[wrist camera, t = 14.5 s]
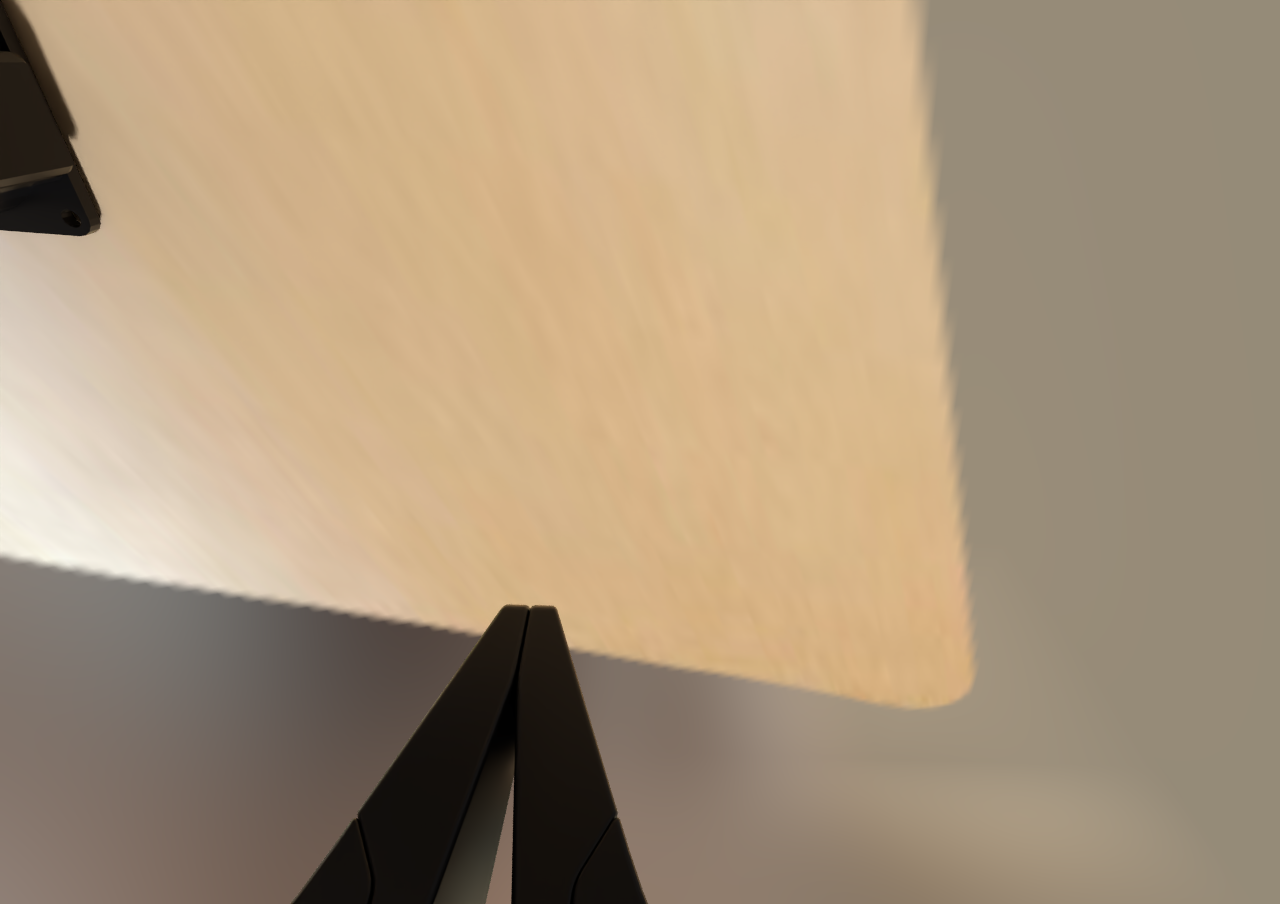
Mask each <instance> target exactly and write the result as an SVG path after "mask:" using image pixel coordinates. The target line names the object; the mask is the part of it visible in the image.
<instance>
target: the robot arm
mask: <svg viewBox="0 0 1280 904" xmlns="http://www.w3.org/2000/svg"><path fill="white" fill-rule="evenodd" d="M72 212H74V213H75V214H77V215H78V217H79V218H80V220H81V223H80V222H79V221H77V220H76V219H75V218H74V216H73V214H72ZM100 225H101V222H100V219H99V216H98V214H97V211H96V209H95V207H94V205H93V203H92V200H91V198H90V196H89V194H88V192H87V189H86V187H85V185H84V183H83V181H82V178H81V176H80V174H79V172H78V170H77V167H76V165H75V163H74V161H73V159H72V156H71V154H70V152H69V150H68V148H67V145H66V143H65V141H64V139H63V137H62V134H61V132H60V130H59V128H58V126H57V123H56V121H55V119H54V117H53V115H52V112H51V110H50V108H49V106H48V104H47V102H46V99H45V97H44V95H43V93H42V91H41V88H40V86H39V84H38V82H37V80H36V77H35V75H34V73H33V71H32V69H31V66H30V64H29V62H28V60H27V58H26V55H25V53H24V51H23V49H22V47H21V44H20V42H19V40H18V38H17V36H16V33H15V31H14V29H13V27H12V25H11V22H10V20H9V18H8V16H7V14H6V11H5V9H4V7H3V5H2V3H1V0H0V230H5V231H19V232H32V233H45V234H59V235H72V236H84V235H88V234H91V233H94V232H96V231H97V230H99V229H100ZM513 778H514V807H513V809H514V810H513V853H512V855H513V856H512V897H511V899H512V900H511V904H648V903H647V900H646V898H645V895H644V893H643V890H642V887H641V884H640V881H639V878H638V875H637V872H636V869H635V866H634V863H633V860H632V857H631V854H630V851H629V848H628V845H627V841H626V838H625V834H624V831H623V828H622V824H621V821H620V819H619V818H617V814H618V812H617V808H616V805H615V802H614V798H613V795H612V792H611V788H610V785H609V782H608V778H607V775H606V772H605V768H604V765H603V762H602V758H601V755H600V752H599V748H598V745H597V742H596V738H595V735H594V732H593V728H592V725H591V721H590V718H589V715H588V711H587V708H586V705H585V701H584V698H583V695H582V692H581V688H580V685H579V681H578V678H577V675H576V671H575V668H574V665H573V662H572V658H571V655H570V651H569V648H568V645H567V641H566V638H565V634H564V631H563V628H562V624H561V621H560V618H559V614H558V611H557V609H556V607H554V606H542V605H535V606H532V607H531V608H529V606H527V605H505V606H504V607H503V608H502V609H501V610H500V611H499V613H498V614H497V615H496V617H495V618H494V620H493V621H492V622H491V624H490V625H489V627H488V628H487V630H486V631H485V632H484V634H483V635H482V637H481V638H480V639H479V641H478V642H477V644H476V645H475V647H474V648H473V649H472V651H471V652H470V654H469V655H468V657H467V658H466V659H465V661H464V662H463V664H462V665H461V666H460V668H459V669H458V671H457V672H456V674H455V675H454V676H453V678H452V679H451V681H450V682H449V683H448V685H447V686H446V688H445V689H444V691H443V692H442V693H441V695H440V696H439V698H438V699H437V700H436V702H435V703H434V705H433V706H432V708H431V709H430V710H429V712H428V713H427V715H426V716H425V718H424V719H423V720H422V722H421V723H420V725H419V726H418V727H417V729H416V730H415V732H414V733H413V734H412V736H411V737H410V739H409V740H408V742H407V743H406V744H405V746H404V747H403V749H402V750H401V752H400V753H399V754H398V756H397V758H396V759H395V760H394V762H393V763H392V764H391V766H390V767H389V769H388V770H387V771H386V773H385V774H384V776H383V777H382V778H381V780H380V781H379V783H378V784H377V786H376V787H375V788H374V790H373V791H372V793H371V794H370V796H369V797H368V799H367V800H366V801H365V803H364V804H363V805H362V807H361V808H360V810H359V811H358V814H357V815H358V819H357V818H354V819H353V820H352V821H351V822H350V823H349V825H348V826H347V828H346V829H345V830H344V832H343V833H342V835H341V836H340V838H339V839H338V840H337V842H336V843H335V845H334V846H333V847H332V849H331V850H330V852H329V853H328V854H327V856H326V857H325V858H324V860H323V861H322V863H321V864H320V865H319V867H318V868H317V869H316V871H315V872H314V873H313V875H312V876H311V878H310V879H309V880H308V881H307V883H306V884H305V886H304V887H303V888H302V890H301V891H300V892H299V893H298V895H297V896H296V897H295V899H294V900H293V901H292V902H291V904H485V903H486V899H487V894H488V890H489V885H490V881H491V876H492V872H493V867H494V863H495V858H496V854H497V849H498V845H499V840H500V835H501V832H502V827H503V823H504V818H505V814H506V809H507V805H508V800H509V796H510V791H511V787H512V782H513Z"/></svg>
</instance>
